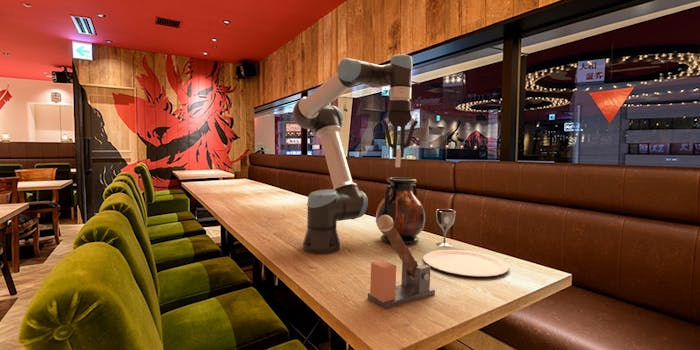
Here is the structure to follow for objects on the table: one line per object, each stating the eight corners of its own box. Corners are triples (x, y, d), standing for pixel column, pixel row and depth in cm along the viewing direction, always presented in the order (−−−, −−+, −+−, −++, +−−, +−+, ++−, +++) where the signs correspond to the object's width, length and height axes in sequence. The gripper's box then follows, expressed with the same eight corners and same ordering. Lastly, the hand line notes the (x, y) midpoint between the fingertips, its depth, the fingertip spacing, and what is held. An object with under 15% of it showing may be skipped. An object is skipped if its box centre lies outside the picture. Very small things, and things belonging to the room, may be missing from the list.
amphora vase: (398, 233, 173) (400, 175, 171) (434, 243, 157) (437, 179, 154) (365, 239, 160) (366, 177, 158) (400, 251, 143) (403, 181, 141)
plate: (454, 249, 149) (454, 245, 149) (524, 269, 127) (524, 264, 126) (406, 262, 131) (406, 257, 131) (478, 287, 108) (478, 282, 108)
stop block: (381, 291, 99) (382, 259, 98) (395, 299, 94) (396, 265, 94) (370, 294, 97) (371, 262, 96) (383, 302, 92) (384, 268, 91)
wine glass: (454, 248, 150) (456, 212, 149) (435, 246, 152) (436, 211, 150) (453, 243, 158) (454, 209, 157) (434, 241, 159) (436, 208, 158)
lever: (416, 267, 105) (381, 210, 96) (427, 271, 101) (392, 212, 92) (407, 278, 103) (370, 221, 94) (418, 283, 100) (381, 224, 90)
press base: (414, 285, 108) (415, 257, 108) (436, 295, 101) (437, 266, 100) (366, 297, 98) (367, 267, 98) (386, 310, 91) (388, 277, 90)
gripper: (382, 98, 123) (380, 167, 125) (420, 99, 123) (417, 168, 125) (381, 101, 131) (378, 165, 132) (416, 102, 130) (414, 166, 132)
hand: (397, 166), depth 129 cm, fingers closed
